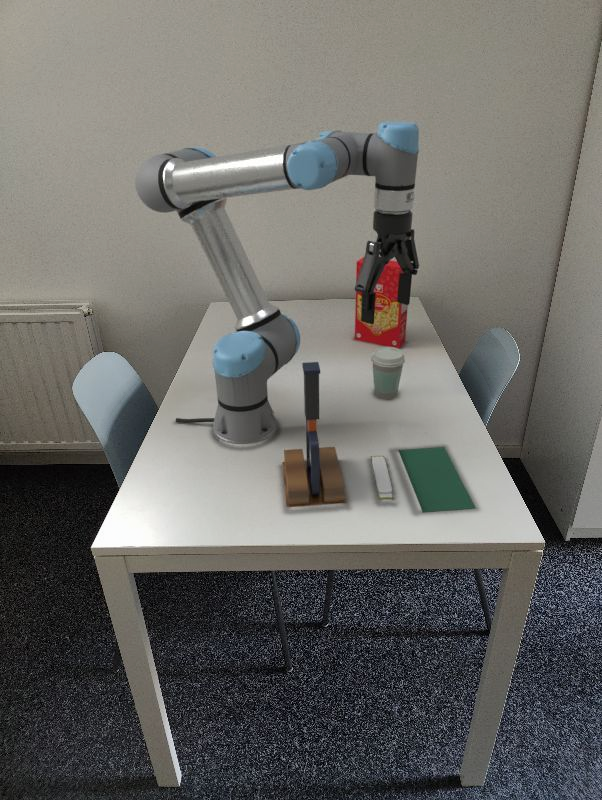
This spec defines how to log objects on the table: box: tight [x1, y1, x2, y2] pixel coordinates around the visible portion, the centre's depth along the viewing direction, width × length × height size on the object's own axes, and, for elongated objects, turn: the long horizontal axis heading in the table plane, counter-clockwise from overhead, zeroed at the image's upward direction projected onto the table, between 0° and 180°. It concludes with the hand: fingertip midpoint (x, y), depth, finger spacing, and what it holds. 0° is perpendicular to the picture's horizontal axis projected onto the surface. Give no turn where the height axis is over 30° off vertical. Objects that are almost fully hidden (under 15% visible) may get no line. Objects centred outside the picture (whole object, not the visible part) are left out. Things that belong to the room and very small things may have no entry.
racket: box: [301, 361, 321, 496], centre depth 115 cm, size 11×3×27 cm, turn 5°
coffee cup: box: [370, 346, 406, 400], centre depth 152 cm, size 9×8×12 cm
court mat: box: [397, 446, 476, 513], centre depth 124 cm, size 12×21×1 cm, turn 5°
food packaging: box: [354, 256, 409, 349], centre depth 177 cm, size 15×5×25 cm, turn 60°
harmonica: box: [370, 455, 394, 501], centre depth 123 cm, size 15×3×2 cm, turn 1°
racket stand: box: [281, 446, 348, 508], centre depth 121 cm, size 15×12×5 cm
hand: (385, 312), depth 125 cm, fingers open, 13 cm apart
